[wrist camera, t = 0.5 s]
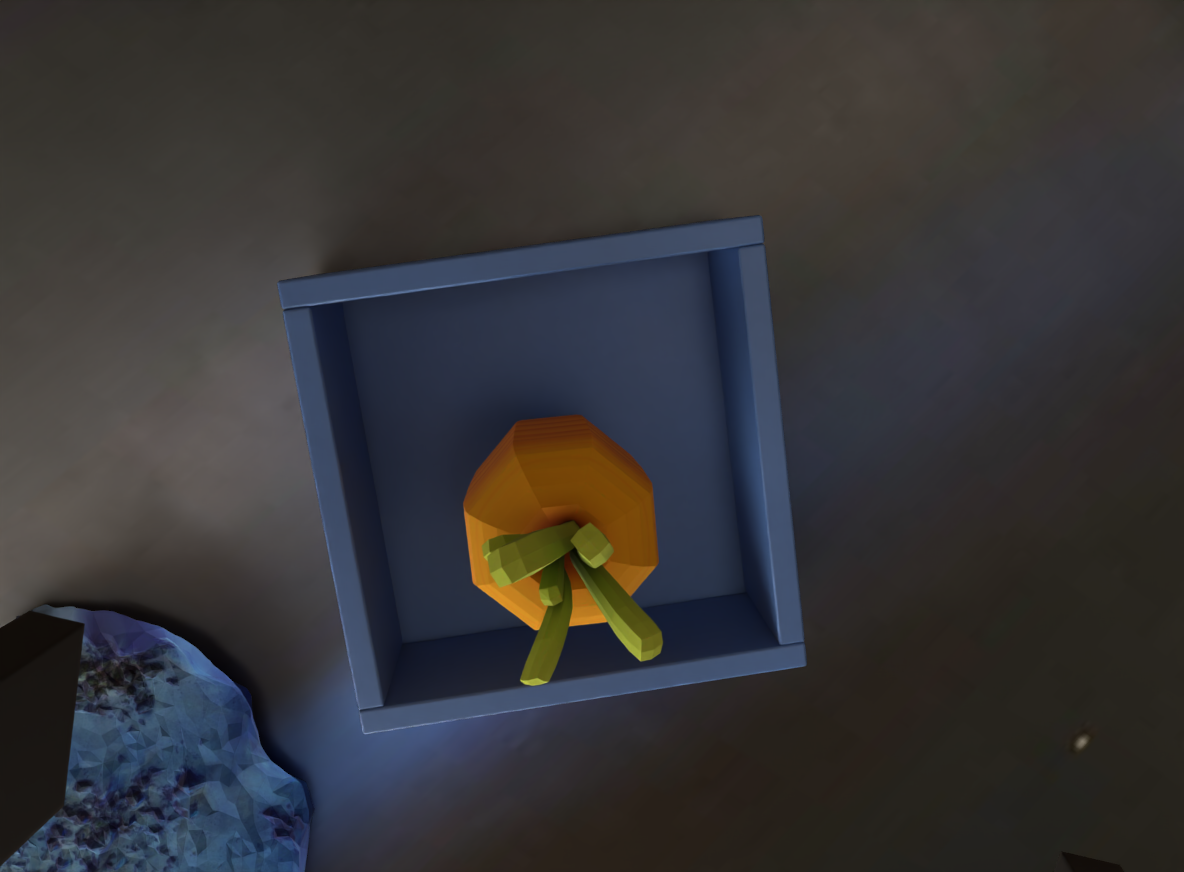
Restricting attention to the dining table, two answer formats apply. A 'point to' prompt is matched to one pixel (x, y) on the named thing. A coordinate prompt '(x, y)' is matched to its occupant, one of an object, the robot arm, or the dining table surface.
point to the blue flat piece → (165, 766)
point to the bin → (539, 390)
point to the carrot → (564, 536)
